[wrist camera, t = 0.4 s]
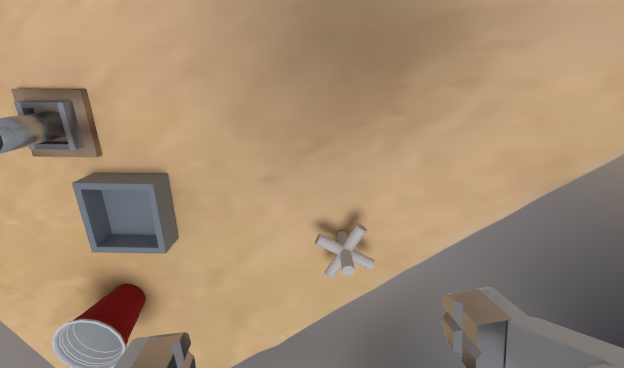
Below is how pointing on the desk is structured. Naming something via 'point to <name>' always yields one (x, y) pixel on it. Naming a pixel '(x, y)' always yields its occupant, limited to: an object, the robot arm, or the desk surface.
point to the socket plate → (74, 119)
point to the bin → (127, 212)
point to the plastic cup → (100, 330)
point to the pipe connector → (345, 252)
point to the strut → (30, 130)
